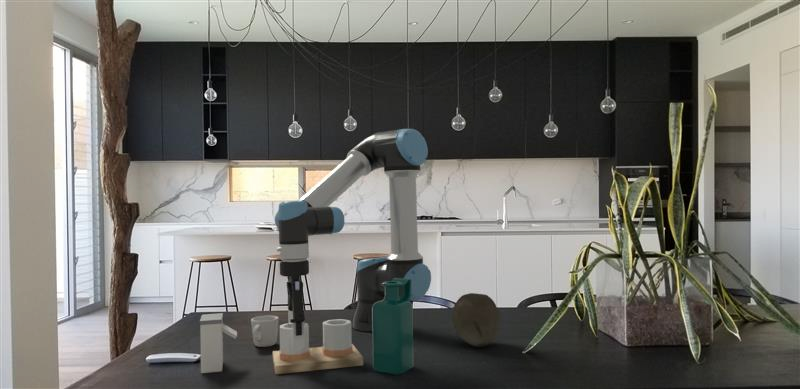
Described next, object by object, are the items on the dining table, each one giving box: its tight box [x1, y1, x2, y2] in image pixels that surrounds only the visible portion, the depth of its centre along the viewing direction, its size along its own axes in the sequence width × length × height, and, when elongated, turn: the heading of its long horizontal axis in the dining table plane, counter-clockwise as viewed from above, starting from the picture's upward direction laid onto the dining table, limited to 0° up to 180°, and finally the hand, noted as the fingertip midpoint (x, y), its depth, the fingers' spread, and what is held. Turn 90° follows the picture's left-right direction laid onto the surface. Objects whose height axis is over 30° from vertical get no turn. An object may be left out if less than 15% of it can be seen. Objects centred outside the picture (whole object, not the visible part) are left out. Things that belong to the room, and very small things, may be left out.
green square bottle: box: [371, 278, 414, 376], centre depth 138 cm, size 10×8×22 cm
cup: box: [250, 315, 280, 348], centre depth 161 cm, size 11×8×8 cm
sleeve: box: [278, 322, 310, 361], centre depth 143 cm, size 8×8×8 cm
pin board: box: [272, 343, 364, 375], centre depth 145 cm, size 22×14×9 cm, turn 106°
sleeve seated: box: [321, 318, 353, 357], centre depth 146 cm, size 8×8×8 cm
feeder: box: [199, 312, 238, 374], centre depth 142 cm, size 9×8×13 cm
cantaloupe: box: [451, 292, 501, 348], centre depth 158 cm, size 14×14×15 cm
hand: (296, 341), depth 143 cm, fingers open, 13 cm apart
